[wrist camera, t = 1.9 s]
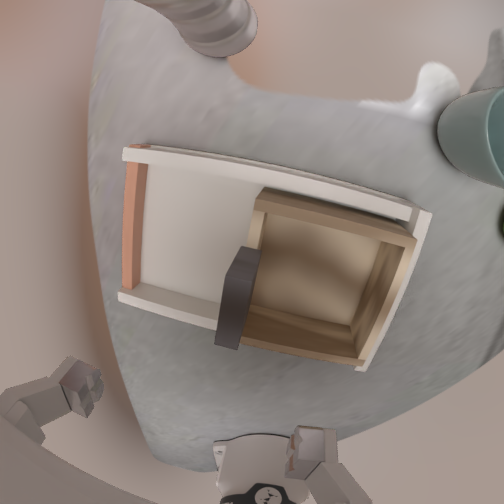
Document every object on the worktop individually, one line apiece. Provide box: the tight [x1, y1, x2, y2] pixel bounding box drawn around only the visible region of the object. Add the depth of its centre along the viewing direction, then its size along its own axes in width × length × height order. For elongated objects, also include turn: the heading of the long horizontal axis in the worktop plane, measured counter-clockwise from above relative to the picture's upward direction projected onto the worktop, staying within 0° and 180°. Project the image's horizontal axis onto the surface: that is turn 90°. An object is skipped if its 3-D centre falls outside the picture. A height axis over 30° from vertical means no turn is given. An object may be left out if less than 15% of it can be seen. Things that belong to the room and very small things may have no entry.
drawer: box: [214, 187, 417, 367], centre depth 22 cm, size 12×12×11 cm
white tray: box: [118, 144, 432, 372], centre depth 26 cm, size 16×26×6 cm, turn 79°
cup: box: [437, 86, 504, 189], centre depth 17 cm, size 8×8×10 cm
